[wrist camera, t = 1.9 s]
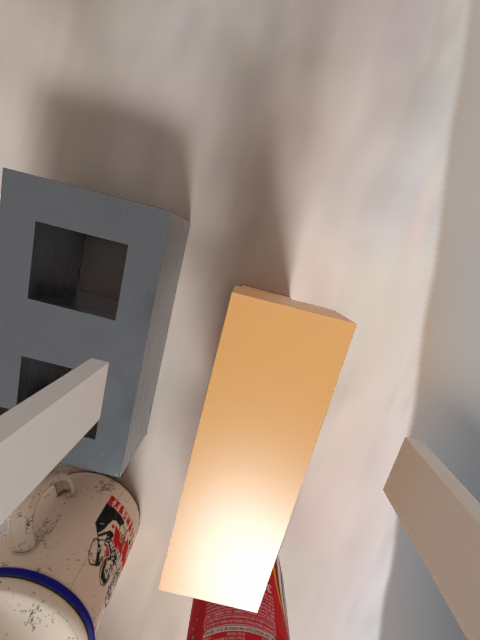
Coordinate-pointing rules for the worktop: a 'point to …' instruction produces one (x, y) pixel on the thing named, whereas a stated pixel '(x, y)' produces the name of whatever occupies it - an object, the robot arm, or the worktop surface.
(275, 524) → the peach eraser-shaped slab
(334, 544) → the worktop surface
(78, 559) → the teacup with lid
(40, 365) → the gray slotted block
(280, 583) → the soda can
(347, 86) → the worktop surface
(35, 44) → the worktop surface
